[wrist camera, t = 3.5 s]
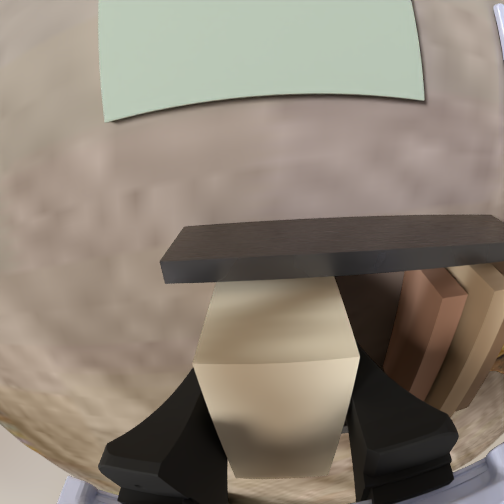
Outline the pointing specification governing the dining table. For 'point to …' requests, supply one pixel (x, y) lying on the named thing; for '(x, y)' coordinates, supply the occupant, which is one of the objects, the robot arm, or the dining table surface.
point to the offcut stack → (447, 333)
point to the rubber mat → (253, 51)
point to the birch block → (277, 374)
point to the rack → (331, 248)
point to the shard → (499, 362)
